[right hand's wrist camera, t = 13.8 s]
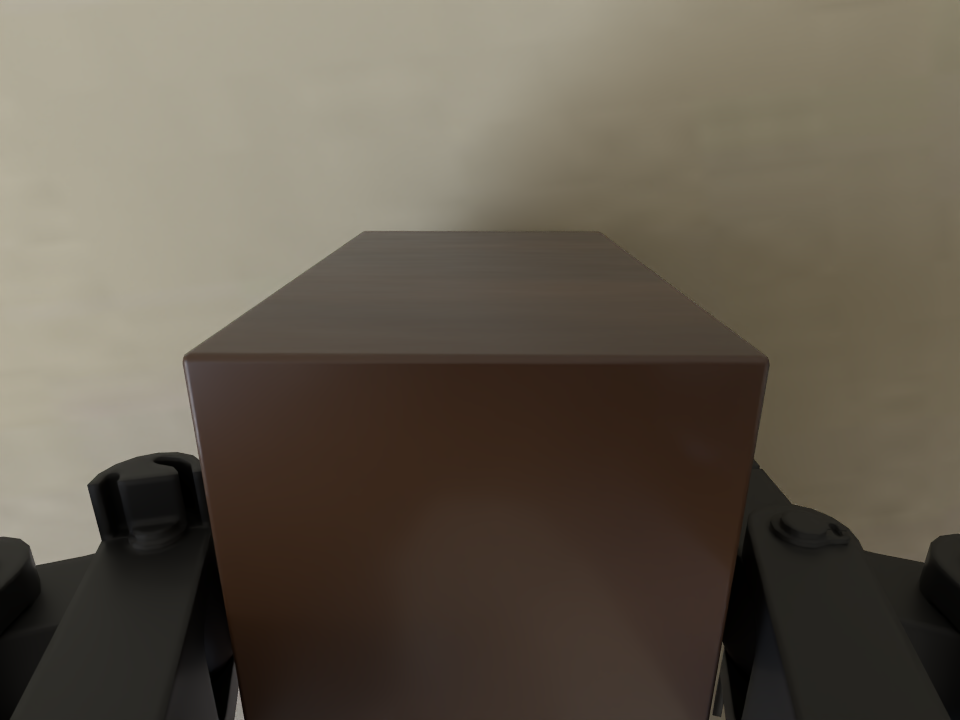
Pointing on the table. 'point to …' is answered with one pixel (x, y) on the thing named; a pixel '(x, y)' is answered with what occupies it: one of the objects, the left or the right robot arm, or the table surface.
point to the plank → (476, 482)
